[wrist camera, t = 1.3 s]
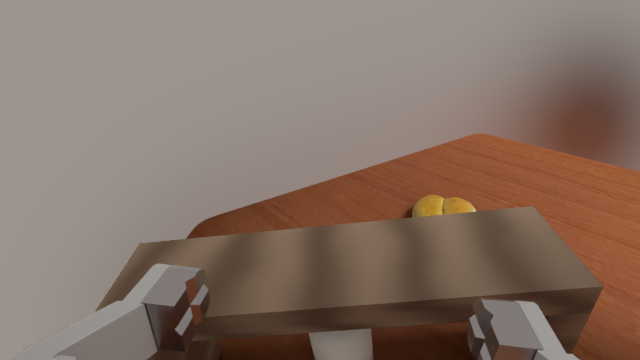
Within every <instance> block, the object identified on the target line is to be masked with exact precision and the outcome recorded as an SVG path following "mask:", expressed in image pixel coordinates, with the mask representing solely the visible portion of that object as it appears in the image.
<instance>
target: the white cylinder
mask: <svg viewBox="0 0 640 360" xmlns="http://www.w3.org/2000/svg"><path fill="white" fill-rule="evenodd" d="M309 338H310V342H311V346H312V350H313V354H314V358H315V360H373V346H372V333H371V329H357V330H343V331H329V332H315V333H309Z"/></svg>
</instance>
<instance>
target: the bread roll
mask: <svg viewBox="0 0 640 360" xmlns="http://www.w3.org/2000/svg"><path fill="white" fill-rule="evenodd" d="M466 212H476V209H474V207H473V206H472V205H471V204H470V203H469V202H467V201H465V200H464V199H461V198H458V197H452V198H448V199H444V198H442V197H440V196H437V195H428V196H425V197H423V198H422V199H420V200H419V201H418V202H417V203H416V204H415V206H414V208H413V211H412V218H413V217H424V216H434V215H445V214H456V213H466Z"/></svg>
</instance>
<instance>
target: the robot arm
mask: <svg viewBox="0 0 640 360" xmlns="http://www.w3.org/2000/svg"><path fill="white" fill-rule="evenodd" d="M206 279H207V277H206V273H205V270H203V269H200V268H192V267H185V266H177V265H166V264H159V263H158V264H155V265H153V266H152V267H151V268H150V270H149V271H148V272H147V273H146V274H145V275H144V276H143V278H142V279H141V280H140V281H139V282H138V283H137V285H136V286H135V287H134V288H133V289H132V290H131V291H130V293H129V294H128V295H127V296H126V297H125V298H124V299H123V301H116V302H114V303H112V304H110V305H108V306H106V307H104V308H102V309H100V310H98V311H96V312H94V313H92V314H90V315H88V316H86V317H85V318H83V319H81V320H79V321H77V322H75V323H73V324H71V325H69V326H67V327H65V328H63V329H61V330H59V331H57V332H55V333H53V334H51V335H49V336H47V337H46V338H44V339H42V340H40V341H38V342H36V343H34V344H32V345H30V346H28V347H26V348H24V349H23V350H22V351H21V352H20V353H19V354H18V355H17V356H16V357H15V358H14V359H13V360H147V359H148V358H149V357H151V356H152V355H153V354H154V353H156V352H157V351H158V350H157V349H161V350H171V351H181V352H186V350H187V348H188V346H189V344H190V343H191V341H192V339H193V337H194V335H195V334H196V330H195V325H197V324H198V323H200V322H201V321H203V319H204V317H205V315H206V313H207V310H208V306H209V301H210V294H209V289H208V288H207V287H206V286H205V285H204V282H205V281H206ZM473 309H474V312H475V315H473V316H472V317H470V318H469V322H468V326H467V340H468V345H469V349H470V352H471V354H472V355H473V356H474V357H475V358H476V359H477V360H579V359H578V358H577V357H575V356H574V355H573V354H566V352H565V350H564V348H563V347H562V345H561V343H560V342H559V340H558V338H557V337H556V335H555V333H554V332H553V330H552V328H551V327H550V325H549V323H548V322H547V320H546V318H545V316H544V315H543V313H542V311H541V310H540V308H539V306H538V305H537V304H536V303H534V302H527V301H516V300H515V301H513V300H503V299H493V298H482V297H477V298H476V299H475V301H474V304H473Z"/></svg>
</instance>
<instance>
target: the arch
mask: <svg viewBox="0 0 640 360" xmlns="http://www.w3.org/2000/svg"><path fill="white" fill-rule="evenodd" d="M158 263H159V264H166V265H177V266H185V267H192V268H200V269H203V270H205V273H206V277H207V279H206V281H205V282H204V285H205V286H206V287H207V288H208V289H209V294H210V301H209V306H208V310H207V313H206V315H205V317H204V319H203V321H201V322H200V323H198V324H197V325H195V330H196V334H195V335H194V337H193V339H192V341H191V343H190V344H189V346H188V348H187V350H186V352H181V351H171V350H161V349H157V350H158V351H157V352H156V353H154V354H153V355H152V356H151V357H149V358H148V359H147V360H219V356H220V352H221V348H220V346H219V344H218V342H217V340H218V339H232V338H246V337H260V336H274V335H288V334H301V333H315V332H329V331H343V330H357V329H371V328H384V327H398V326H412V325H426V324H440V323H454V322H467V321H469V318H470V317H472V316H473V315H475V312H474V309H473V304H474V301H475V299H476V298H477V297H482V298H493V299H503V300H513V301H515V300H516V301H527V302H534V303H536V304H537V305H538V306H539V308H540V310H541V311H542V313H543V315H544V316H545V318H546V320H547V322H548V323H549V325H550V327H551V328H552V330H553V332H554V333H555V335H556V337H557V338H558V340H559V342H560V343H561V345H562V347H563V348H564V350H565V352H566V354H571V353H572V351H573V349H574V347H575V345H576V342H577V340H578V338H579V336H580V334H581V332H582V330H583V328H584V326H585V324H586V322H587V320H588V318H589V315H590V313H591V311H592V309H593V307H594V305H595V303H596V301H597V299H598V297H599V295H600V293H601V291H602V288H603V285H602V284H601V283H600V282H599V281H598V280H597V279H596V277H595V276H594V275H593V274H592V273H591V272H590V271H589V269H588V268H587V267H586V266H585V265H584V264H583V263H582V261H581V260H580V259H579V258H578V257H577V256H576V255H575V253H574V252H573V251H572V250H571V249H570V248H569V247H568V245H567V244H566V243H565V242H564V241H563V240H562V239H561V238H560V236H559V235H558V234H557V233H556V232H555V231H554V230H553V228H552V227H551V226H550V225H549V224H548V223H547V222H546V220H545V219H544V218H543V217H542V216H541V215H540V214H539V212H538V211H537V210H536V209H535V208H534V207H533V206H529V207H519V208H508V209H498V210H487V211H477V212H466V213H456V214H445V215H434V216H424V217H413V218H403V219H392V220H382V221H371V222H361V223H350V224H340V225H329V226H319V227H308V228H298V229H287V230H276V231H266V232H255V233H245V234H234V235H224V236H213V237H203V238H192V239H182V240H171V241H161V242H151V243H140V244H139V246H138V247H137V249H136V250H135V252H134V253H133V255H132V256H131V258H130V259H129V261H128V263H127V264H126V266H125V267H124V269H123V270H122V272H121V273H120V275H119V276H118V278H117V279H116V281H115V282H114V284H113V285H112V287H111V289H110V290H109V292H108V293H107V294H106V296H105V298H104V299H103V301H102V302H101V304H100V305H99V307H98V308H97V310H96V311H98V310H100V309H102V308H104V307H106V306H108V305H110V304H112V303H114V302H116V301H123V299H124V298H125V297H126V296H127V295H128V294H129V293H130V291H131V290H132V289H133V288H134V287H135V286H136V285H137V283H138V282H139V281H140V280H141V279H142V278H143V276H144V275H145V274H146V273H147V272H148V271H149V270H150V268H151V267H152V266H153V265H155V264H158ZM96 311H95V312H96Z"/></svg>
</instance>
